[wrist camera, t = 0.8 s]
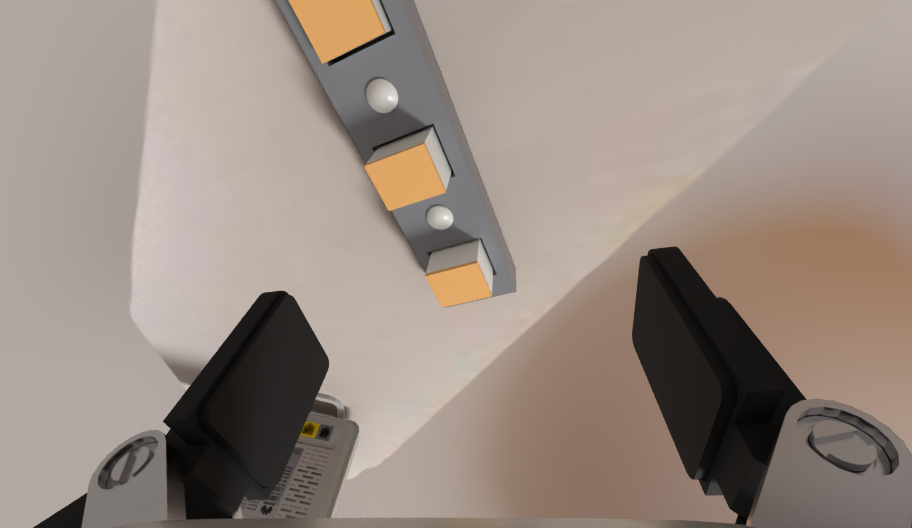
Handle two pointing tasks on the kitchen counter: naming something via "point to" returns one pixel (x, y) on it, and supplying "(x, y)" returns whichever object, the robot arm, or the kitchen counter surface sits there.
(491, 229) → the power strip
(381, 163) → the middle switch
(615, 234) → the kitchen counter surface
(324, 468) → the network device
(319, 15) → the on switch
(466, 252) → the switch
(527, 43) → the kitchen counter surface
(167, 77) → the kitchen counter surface
